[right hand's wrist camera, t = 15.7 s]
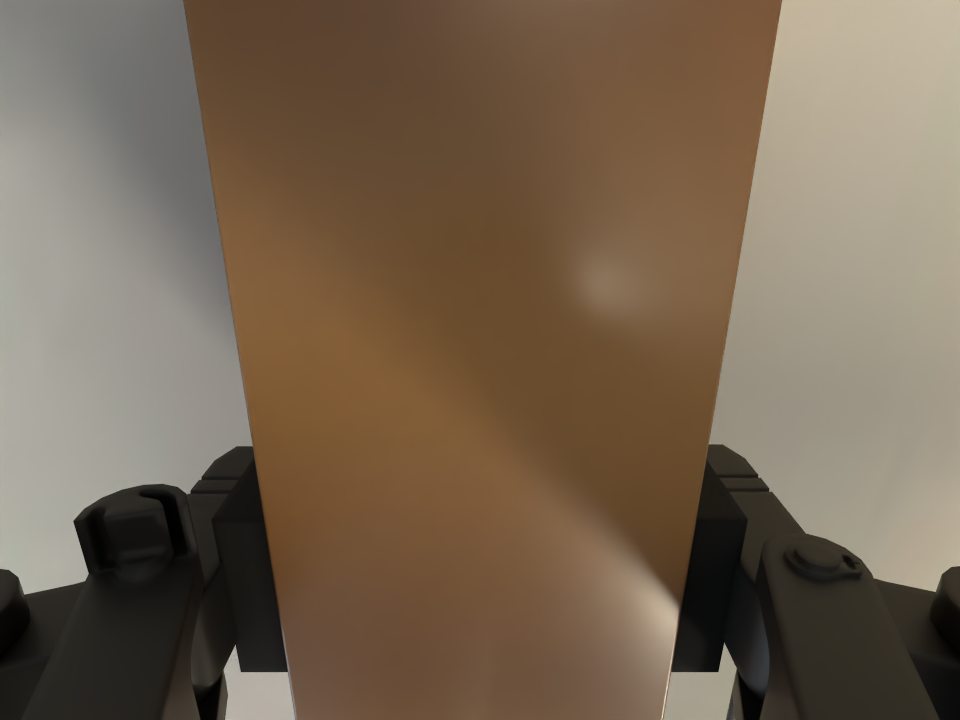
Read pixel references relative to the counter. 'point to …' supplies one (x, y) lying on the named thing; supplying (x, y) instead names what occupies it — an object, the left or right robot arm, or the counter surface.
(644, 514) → the bar
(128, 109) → the counter surface
